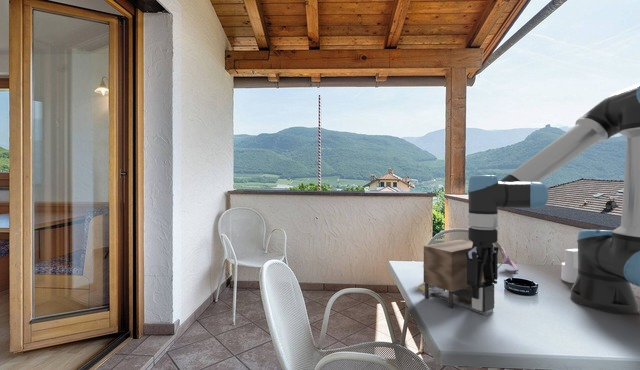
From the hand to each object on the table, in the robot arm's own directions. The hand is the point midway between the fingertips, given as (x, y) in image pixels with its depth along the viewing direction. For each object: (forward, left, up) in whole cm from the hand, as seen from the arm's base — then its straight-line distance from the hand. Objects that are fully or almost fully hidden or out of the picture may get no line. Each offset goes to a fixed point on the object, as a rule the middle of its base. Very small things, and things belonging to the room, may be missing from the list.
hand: (482, 306), depth 85 cm
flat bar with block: (+8, 0, -1) cm, 8 cm away
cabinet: (+11, -4, -1) cm, 11 cm away
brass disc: (+20, 0, -2) cm, 20 cm away
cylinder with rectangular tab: (-5, -57, -1) cm, 57 cm away
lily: (+15, -49, -2) cm, 51 cm away
